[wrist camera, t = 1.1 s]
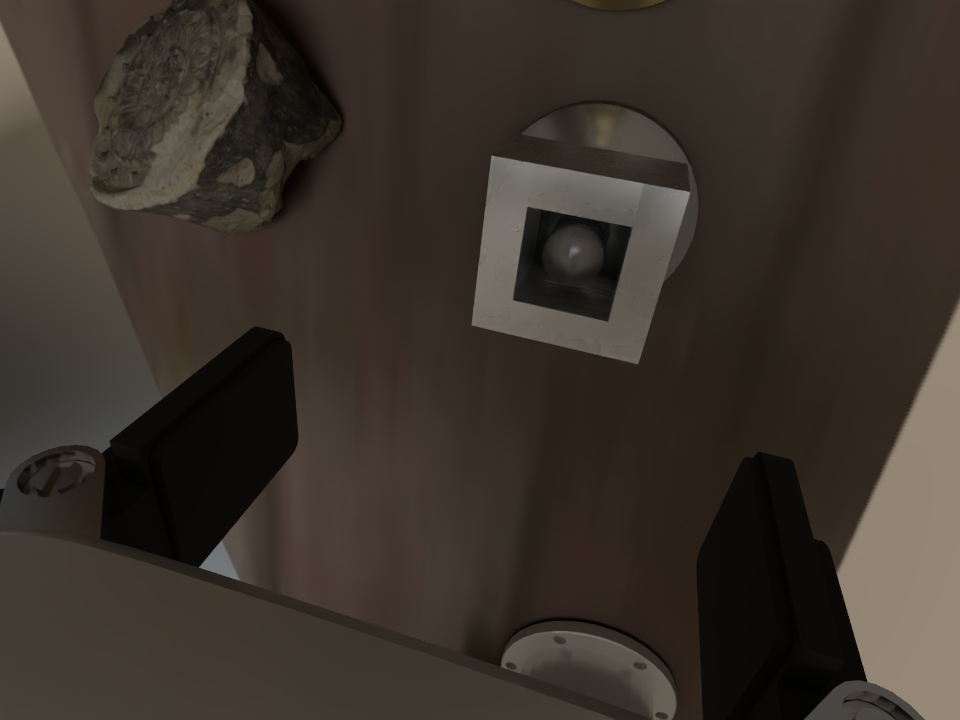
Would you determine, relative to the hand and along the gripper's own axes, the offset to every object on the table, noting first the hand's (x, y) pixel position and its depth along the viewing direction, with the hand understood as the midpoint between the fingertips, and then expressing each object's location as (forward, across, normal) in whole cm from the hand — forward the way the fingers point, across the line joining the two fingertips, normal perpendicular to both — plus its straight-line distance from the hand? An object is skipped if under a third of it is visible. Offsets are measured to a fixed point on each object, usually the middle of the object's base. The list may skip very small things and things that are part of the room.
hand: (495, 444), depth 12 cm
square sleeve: (+14, 0, 0) cm, 15 cm away
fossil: (+18, +17, -2) cm, 25 cm away
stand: (+18, 0, 0) cm, 18 cm away
